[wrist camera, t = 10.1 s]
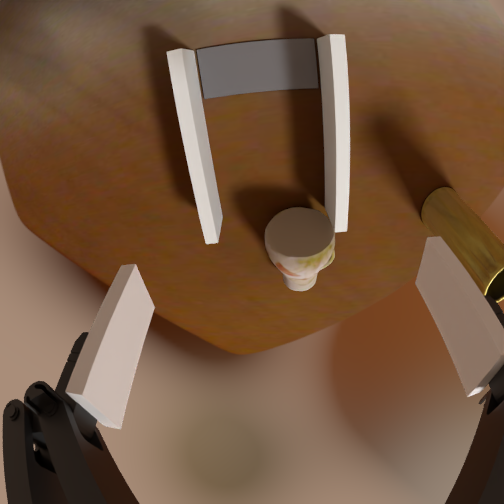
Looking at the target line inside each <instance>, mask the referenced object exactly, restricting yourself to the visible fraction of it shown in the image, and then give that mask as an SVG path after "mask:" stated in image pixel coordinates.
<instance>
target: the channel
mask: <svg viewBox="0 0 504 504" xmlns="http://www.w3.org/2000/svg"><path fill="white" fill-rule="evenodd" d="M317 46H318V56H319V67H320V80H321V94H322V111H323V132H324V166H325V210H326V212H327V214H328V217H329V219H330V221H331V224H332V226H333V229H334V231H335V232H345V231H347V222H348V204H349V176H350V113H349V86H348V69H347V55H346V44H345V35H339V34H329V35H326V36H323V37H320V38H317ZM197 55H198V62H199V68H200V74H201V81H202V87H203V93H204V99H207V98H214V97H220V96H227V95H235V94H243V93H252V92H262V91H273V90H287V89H308V88H318V76H317V65H316V54H315V44H314V39H281V40H266V41H255V42H245V43H237V44H230V45H223V46H216V47H210V48H204V49H199V50H197ZM167 58H168V64H169V70H170V75H171V81H172V87H173V92H174V98H175V103H176V108H177V114H178V119H179V124H180V129H181V134H182V139H183V144H184V149H185V154H186V159H187V163H188V168H189V173H190V177H191V182H192V186H193V191H194V195H195V200H196V204H197V209H198V213H199V217H200V221H201V226H202V230H203V234H204V238H205V242H206V244H211V243H218V240H219V235H220V229H221V223H222V218H223V216H222V211H221V206H220V200H219V195H218V189H217V184H216V179H215V173H214V168H213V162H212V156H211V151H210V145H209V139H208V134H207V128H206V122H205V116H204V110H203V104H202V98H201V92H200V86H199V80H198V74H197V67H196V61H195V55H194V51H193V50H188V49H182V48H181V49H176V50H172V51H168V52H167Z"/></svg>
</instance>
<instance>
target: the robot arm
mask: <svg viewBox="0 0 504 504" xmlns="http://www.w3.org/2000/svg"><path fill="white" fill-rule="evenodd" d="M415 284H416V286H417V288H418V290H419V291H420V293H421V295H422V297H423V299H424V301H425V303H426V305H427V307H428V309H429V311H430V313H431V315H432V316H433V319H434V321H435V323H436V325H437V327H438V329H439V331H440V333H441V335H442V338H443V340H444V342H445V344H446V346H447V349H448V351H449V353H450V355H451V358H452V360H453V362H454V365H455V367H456V369H457V372H458V374H459V377H460V379H461V382H462V385H463V387H464V390H465V392H466V395H467V397H469V396H471V395H474V394H476V393H479V392H481V391H482V390H483V389H484V388H485V387H486V386H487V384H488V383H489V386H490V388H491V389H490V390H489V391H488V392H487V393H486V394H485V395H484V397H483V398H482V399H481V400H480V402H479V404H482V403H483V402H484V400H485V399H486V402H485V404H484V408H483V412H482V415H481V418H480V421H479V425H478V428H477V431H476V434H475V436H474V439H473V442H472V445H471V447H470V450H469V453H468V455H467V458H466V460H465V463H464V465H463V467H462V469H461V472H460V474H459V476H458V478H457V480H456V483H455V485H454V487H453V489H452V491H451V493H450V495H449V497H448V499H447V501H446V503H445V504H504V314H503V311H502V310H501V308H500V306H499V305H498V303H497V302H496V301H495V300H494V299H493V298H492V297H490V296H489V295H484V296H483V294H482V293H481V291H480V290H479V288H478V287H477V285H476V284H475V282H474V281H473V279H472V278H471V276H470V275H469V274H468V272H467V271H466V269H465V268H464V267H463V265H462V264H461V262H460V261H459V260H458V258H457V257H456V256H455V254H454V253H453V252H452V250H451V249H450V248H449V247H448V245H447V244H446V243H445V241H444V240H443V239H442V238H441V236H438V237H427V241H426V245H425V249H424V253H423V257H422V261H421V265H420V268H419V272H418V276H417V279H416V283H415ZM154 308H155V307H154V305H153V302H152V300H151V298H150V296H149V294H148V291H147V289H146V287H145V285H144V282H143V280H142V278H141V275H140V273H139V271H138V268H137V266H136V264H131V265H121V267H120V269H119V271H118V273H117V275H116V277H115V279H114V281H113V283H112V285H111V287H110V289H109V291H108V293H107V295H106V297H105V299H104V301H103V303H102V305H101V307H100V309H99V312H98V314H97V316H96V318H95V320H94V322H93V325H92V327H91V329H90V331H89V333H88V332H83V333H82V334H81V335H80V337H79V338H78V339H77V340H76V341H75V344H74V346H73V348H72V350H71V354H70V355H69V357H68V359H67V361H68V362H66V364H65V367H64V369H63V372H62V374H61V377H60V379H59V382H58V385H57V387H56V389H55V391H54V390H53V389H52V388H51V387H50V386H49V385H48V384H47V383H45V382H44V381H38V382H35V383H33V384H32V385H31V386H29V388H28V389H27V391H26V393H25V396H24V403H22V402H21V401H20V400H18V399H14V400H12V401H10V402H9V403H8V404H7V405H6V407H5V409H4V414H3V458H4V472H5V482H6V492H7V498H8V504H139V502H138V501H137V499H136V498H135V496H134V494H133V493H132V491H131V490H130V488H129V486H128V485H127V483H126V481H125V479H124V478H123V476H122V474H121V472H120V471H119V469H118V467H117V465H116V463H115V461H114V460H113V458H112V456H111V454H110V452H109V450H108V448H107V446H106V444H105V442H104V440H103V438H102V436H101V434H100V432H99V430H98V428H97V427H96V423H97V420H98V421H99V422H100V423H101V424H103V425H104V426H107V427H112V428H118V429H121V426H122V422H123V418H124V413H125V409H126V405H127V401H128V397H129V393H130V390H131V386H132V382H133V379H134V375H135V371H136V367H137V364H138V360H139V357H140V354H141V350H142V347H143V343H144V340H145V337H146V333H147V330H148V327H149V323H150V321H151V317H152V314H153V311H154ZM33 444H35V451H34V448H33Z"/></svg>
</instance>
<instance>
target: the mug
mask: <svg viewBox="0 0 504 504" xmlns="http://www.w3.org/2000/svg"><path fill="white" fill-rule="evenodd" d="M334 246H335V232H334V229H333V226H332V224H331V222H330V220H329V219H328V217H326V216H325V215H324V214H322V213H321V212H320V211H318V210H314V209H308V208H303V207H293V208H289V209H286V210H283V211H281V212H280V213H278V214H277V215H276V216H274V217H273V219H272V220H271V221H270V222H269V224H268V225H267V227H266V229H265V247H266V251H267V253H268V256H269V258H270V259H271V261H272V262H273V263H274V265H275V266H276V267H277V268H278V269H279V270H280V271H281V272H282V273H283V280H284V283H285V284H286V286H287V287H288V288H290V289H292V290H295V291H304V290H308V289H309V288H311V287H312V286H313V285H314V284H315V282H316V278H317V272H318V271H319V270H321V269H323V268H325V267H327V266H328V265H329V264H330V263H331V262H332V261H333V259H334V257H335V249H334Z"/></svg>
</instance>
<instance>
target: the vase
mask: <svg viewBox="0 0 504 504" xmlns="http://www.w3.org/2000/svg"><path fill="white" fill-rule="evenodd" d="M421 217H422V221H423V223H424V225H425V226H426V227H427V228H428V229H429V230H431V231H432V233H433V234H434V235H435V237H438V236H441V238H442V239H443V240H444V241H445V243H446V244H447V245H448V247H449V248H450V249H451V250H452V252H453V253H454V254H455V256H456V257H457V258H458V260H459V261H460V262H461V264H462V265H463V267H464V268H465V269H466V271H467V272H468V274H469V275H470V276H471V278H472V279H473V281H474V282H475V284H476V285H477V287H478V288H479V290H480V291H481V293H482V294H483V296H484V295H489V296H490V297H492V298H493V299H494V300H495V301H496V302H497V303H498V302H500V301H501V300H502V299H504V244H503V243H502V242H501V240H500V239H499V238H498V237H497V236H496V235H495V234H494V233H493V232H492V231H491V230H490V229H489V228H488V226H487V225H486V224H485V223H484V222H483V221H482V220H481V219H480V218H479V216H478V215H477V214H476V213H475V212H474V211H473V210H472V209H471V208H470V207H469V206H468V205H467V204H466V203H465V202H464V201H463V200H462V199H461V198H460V197H459V195H458V194H457V193H456V192H455V191H454V190H453V189H452V188H448V187H442V188H438V189H436V190H435V191H433V192H432V193H431V194H430V195H429V196H428V197H427V198H426V200H425V202H424V204H423V206H422V211H421Z"/></svg>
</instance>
